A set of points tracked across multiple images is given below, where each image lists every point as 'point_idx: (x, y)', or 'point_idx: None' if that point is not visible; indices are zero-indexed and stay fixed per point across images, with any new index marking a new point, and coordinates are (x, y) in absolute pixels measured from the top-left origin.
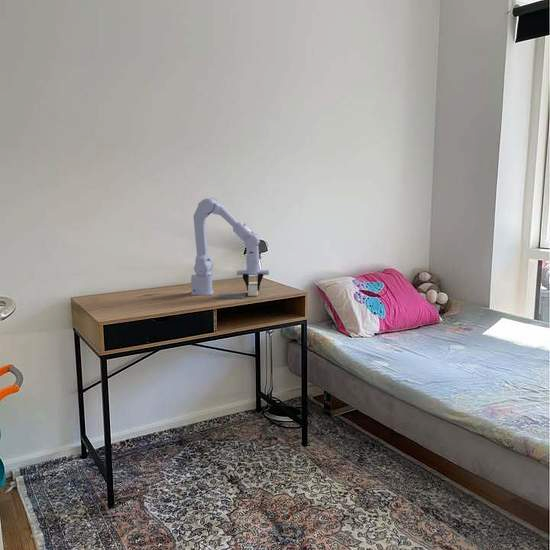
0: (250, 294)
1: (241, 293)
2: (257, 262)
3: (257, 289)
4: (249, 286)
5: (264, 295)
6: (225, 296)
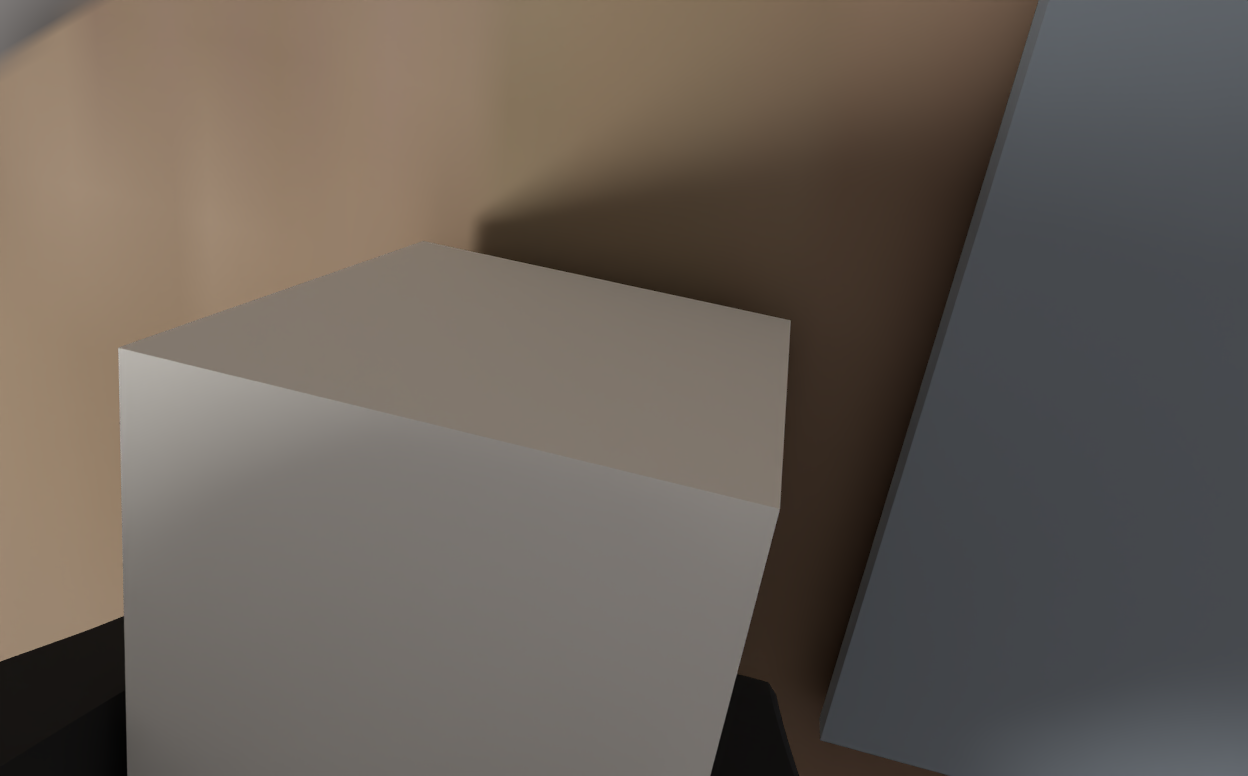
0: (685, 307)
1: (1013, 734)
2: None
3: None
4: (667, 463)
5: None
6: None
